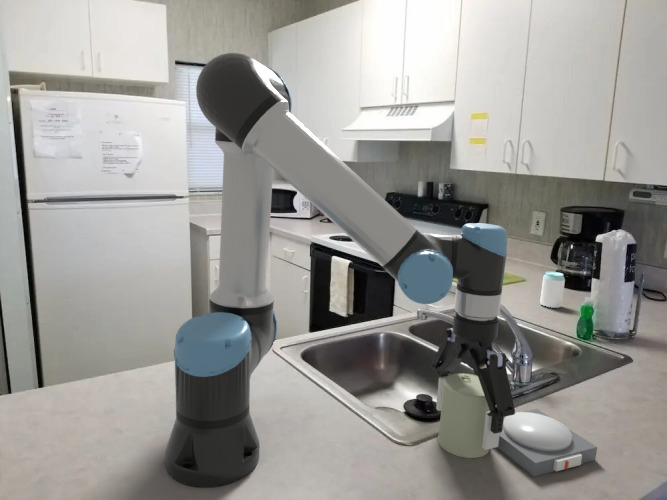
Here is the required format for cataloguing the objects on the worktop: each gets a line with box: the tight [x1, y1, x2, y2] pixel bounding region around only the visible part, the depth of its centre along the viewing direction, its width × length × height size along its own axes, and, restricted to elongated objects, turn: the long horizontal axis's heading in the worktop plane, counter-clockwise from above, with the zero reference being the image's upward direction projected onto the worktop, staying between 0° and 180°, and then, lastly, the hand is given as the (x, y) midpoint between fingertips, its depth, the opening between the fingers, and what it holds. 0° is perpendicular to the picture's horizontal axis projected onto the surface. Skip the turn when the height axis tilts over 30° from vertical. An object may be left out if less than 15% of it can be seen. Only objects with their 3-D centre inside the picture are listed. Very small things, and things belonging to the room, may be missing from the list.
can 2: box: [539, 271, 566, 309], centre depth 180 cm, size 7×7×12 cm
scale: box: [496, 408, 598, 477], centre depth 92 cm, size 14×15×4 cm
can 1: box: [437, 373, 490, 459], centre depth 92 cm, size 9×9×12 cm
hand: (465, 426), depth 92 cm, fingers open, 13 cm apart
